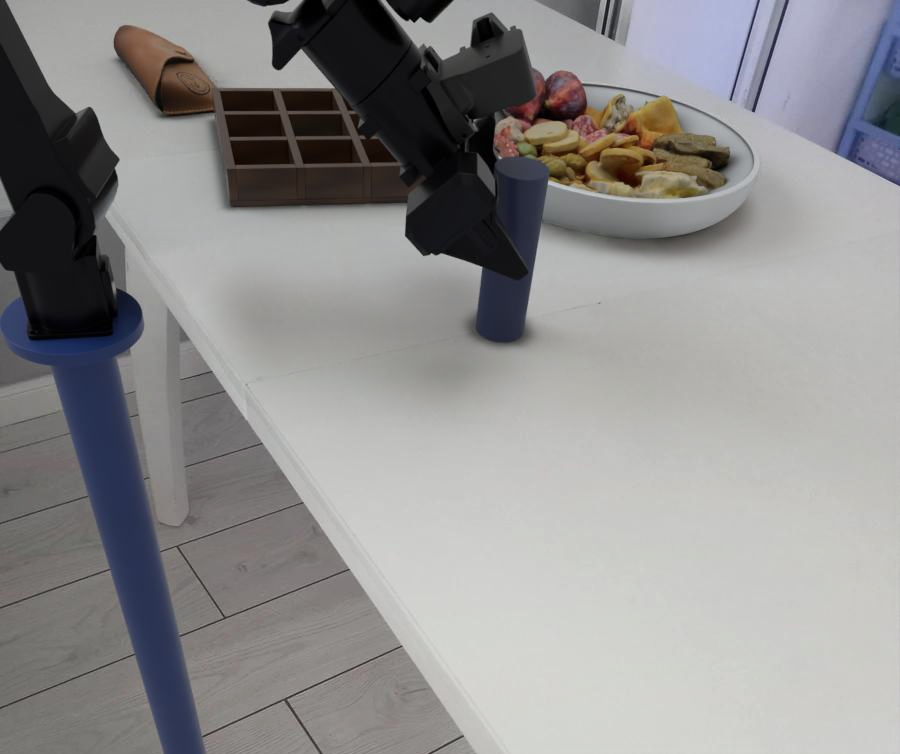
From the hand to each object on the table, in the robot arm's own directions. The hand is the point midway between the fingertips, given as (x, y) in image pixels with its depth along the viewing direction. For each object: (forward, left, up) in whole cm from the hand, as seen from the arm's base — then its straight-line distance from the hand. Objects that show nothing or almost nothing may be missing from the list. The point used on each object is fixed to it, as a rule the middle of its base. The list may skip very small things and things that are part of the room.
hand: (521, 245), depth 68 cm
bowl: (+18, +26, -7) cm, 33 cm away
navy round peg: (-1, 0, -7) cm, 7 cm away
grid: (-11, +33, -7) cm, 36 cm away
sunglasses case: (-25, +54, -7) cm, 60 cm away
